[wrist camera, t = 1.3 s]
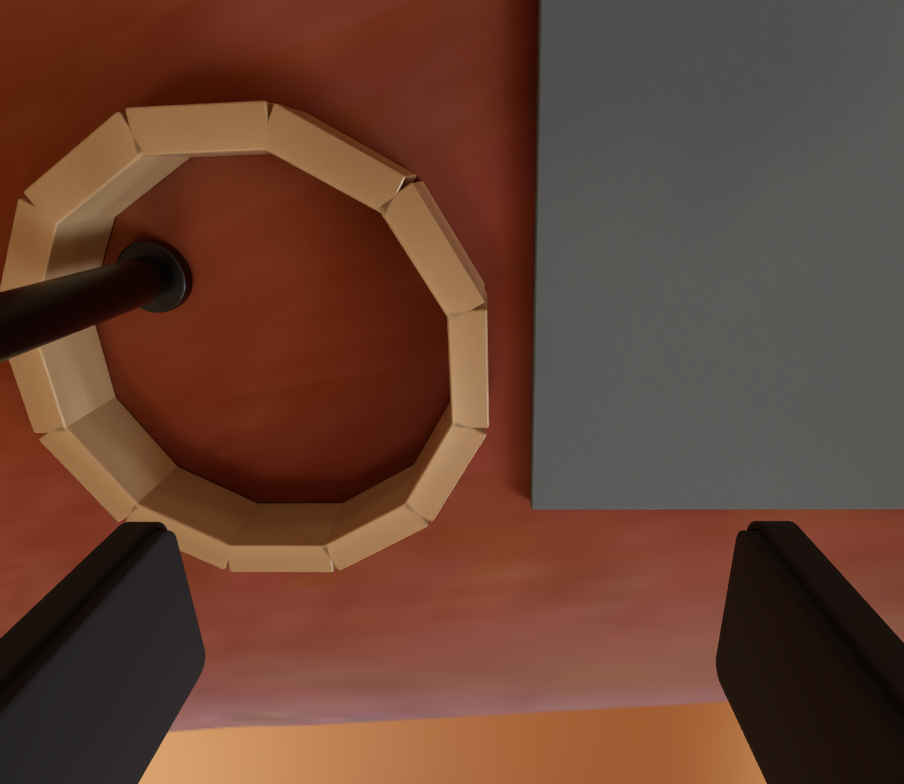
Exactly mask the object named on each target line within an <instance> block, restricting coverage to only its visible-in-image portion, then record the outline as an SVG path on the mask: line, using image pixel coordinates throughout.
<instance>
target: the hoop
mask: <svg viewBox="0 0 904 784" xmlns="http://www.w3.org/2000/svg"><path fill="white" fill-rule="evenodd" d="M125 111H126V113H124V112H116V113H115V114H113V115H112V116H111V117H110V118H109V119H107V120H106V121H105V122H104V123H103V124H102V125H100V126H99V127H98V128H97V129H96V130H95V131H93V132H92V133H91V134H90V135H89V136H88V137H86V138H85V139H84V140H83V141H82V142H81V143H79V144H78V145H77V146H76V147H75V148H74V149H72V150H71V151H70V152H69V153H68V154H67V155H65V156H64V157H63V158H62V159H61V160H60V161H58V162H57V163H56V164H55V165H54V166H53V167H51V168H50V169H49V170H48V171H47V172H46V173H44V174H43V175H42V176H41V177H40V178H39V179H37V180H36V181H35V182H34V183H33V184H32V185H30V186H29V187H28V188H27V189H26V190H25V191H24V194H25V195H26V196H27V198H19V199H18V203H17V208H16V212H15V217H14V222H13V227H12V232H11V237H10V242H9V247H8V251H7V256H6V261H5V266H4V271H3V276H2V281H1V285H0V292H2V291H6V290H10V289H14V288H18V287H22V286H26V285H30V284H34V283H38V282H42V281H46V280H50V279H54V278H58V277H62V276H66V275H70V274H74V273H78V272H82V271H86V270H89V269H93V268H97V267H101V266H102V263H103V259H104V255H105V252H106V248H107V244H108V241H109V237H110V233H111V230H112V226H113V222H114V219H115V217H116V216H117V215H118V214H119V213H121V212H122V211H123V210H124V209H126V208H127V207H128V206H129V205H131V204H132V203H133V202H134V201H136V200H137V199H138V198H140V197H141V196H142V195H143V194H145V193H146V192H147V191H148V190H150V189H151V188H152V187H153V186H155V185H156V184H157V183H158V182H160V181H161V180H162V179H164V178H165V177H166V176H167V175H169V174H170V173H171V172H172V171H174V170H175V169H176V168H177V167H179V166H180V165H181V164H183V163H184V162H185V161H186V160H188V159H189V158H192V157H215V156H237V155H260V154H274V155H275V156H277V157H279V158H281V159H283V160H285V161H286V162H288V163H290V164H292V165H294V166H296V167H297V168H299V169H301V170H303V171H305V172H306V173H308V174H310V175H312V176H314V177H316V178H317V179H319V180H321V181H323V182H325V183H327V184H328V185H330V186H332V187H334V188H336V189H338V190H339V191H341V192H343V193H345V194H347V195H349V196H350V197H352V198H354V199H356V200H358V201H359V202H361V203H363V204H365V205H367V206H369V207H370V208H372V209H374V210H376V211H378V212H380V213H381V215H382V216H383V218H384V219H385V221H386V222H387V224H388V225H389V227H390V229H391V230H392V232H393V233H394V235H395V236H396V238H397V240H398V241H399V243H400V244H401V246H402V247H403V249H404V250H405V252H406V254H407V255H408V257H409V258H410V260H411V261H412V263H413V265H414V266H415V268H416V269H417V271H418V272H419V274H420V275H421V277H422V279H423V280H424V282H425V283H426V285H427V286H428V288H429V290H430V291H431V293H432V294H433V296H434V297H435V299H436V300H437V302H438V304H439V305H440V307H441V308H442V310H443V311H444V313H445V315H446V316H447V330H448V354H449V377H450V403H449V404H448V406H447V408H446V409H445V411H444V413H443V415H442V416H441V418H440V420H439V422H438V423H437V425H436V427H435V429H434V430H433V432H432V434H431V436H430V437H429V439H428V441H427V442H426V444H425V446H424V448H423V449H422V451H421V453H420V455H419V456H418V458H417V460H416V462H415V463H414V465H412V466H411V467H409V468H407V469H405V470H403V471H401V472H399V473H398V474H396V475H394V476H392V477H390V478H388V479H386V480H385V481H383V482H381V483H379V484H377V485H375V486H373V487H372V488H370V489H368V490H366V491H364V492H362V493H360V494H359V495H357V496H355V497H353V498H351V499H349V500H347V501H346V502H344V503H256V502H253V501H251V500H249V499H247V498H245V497H242V496H240V495H238V494H236V493H234V492H232V491H229V490H227V489H225V488H223V487H221V486H219V485H216V484H214V483H212V482H210V481H208V480H205V479H203V478H201V477H199V476H197V475H195V474H192V473H190V472H188V471H186V470H184V469H182V468H179V467H177V466H176V464H175V463H174V462H173V461H172V460H171V459H170V458H169V457H168V455H167V454H166V453H165V452H164V451H163V450H162V449H161V448H160V446H159V445H158V444H157V443H156V442H155V441H154V440H153V439H152V437H151V436H150V435H149V434H148V433H147V432H146V431H145V430H144V428H143V427H142V426H141V425H140V424H139V423H138V422H137V421H136V419H135V418H134V417H133V416H132V415H131V414H130V413H129V411H128V410H127V409H126V408H125V407H124V406H123V405H122V404H121V402H120V401H119V400H118V399H117V398H116V397H115V393H114V390H113V386H112V383H111V379H110V375H109V372H108V368H107V365H106V361H105V358H104V354H103V351H102V347H101V344H100V340H99V336H98V333H97V329H96V326H95V325H94V326H91V327H89V328H86V329H84V330H81V331H79V332H76V333H74V334H71V335H69V336H66V337H64V338H61V339H59V340H56V341H54V342H51V343H49V344H46V345H44V346H41V347H39V348H36V349H34V350H31V351H29V352H26V353H23V354H21V355H18V356H16V357H13V358H11V359H9V362H10V365H11V368H12V371H13V373H14V376H15V379H16V382H17V385H18V388H19V391H20V394H21V396H22V399H23V402H24V405H25V408H26V411H27V414H28V417H29V419H30V422H31V425H32V428H33V431H34V432H35V433H46V434H44V435H43V436H41V437H40V438H39V441H40V442H41V443H42V444H43V445H44V446H45V447H46V448H47V449H48V450H49V451H50V452H51V453H52V454H53V455H54V456H55V457H56V458H57V459H58V460H59V461H60V462H61V463H62V464H63V465H64V467H65V468H66V469H67V470H68V471H69V472H70V473H71V474H72V475H73V476H74V477H75V478H76V479H77V480H78V481H79V482H80V483H81V484H82V485H83V486H84V487H85V488H86V489H87V490H88V491H89V492H90V494H91V495H92V496H93V497H94V498H95V499H96V500H97V501H98V502H99V503H100V504H101V505H102V506H103V507H104V508H105V509H106V510H107V511H108V512H109V513H110V514H111V515H112V516H113V517H114V518H115V519H116V521H121V520H123V519H124V518H126V517H127V519H126V522H161V523H163V524H164V525H165V526H166V527H167V530H170V531H173V533H174V534H175V535H176V538H177V542H178V546H179V550H180V551H182V552H185V553H187V554H189V555H191V556H194V557H196V558H198V559H200V560H203V561H205V562H207V563H210V564H212V565H214V566H216V567H219V568H221V569H225V568H226V566H227V565H228V563H229V567H230V571H232V572H333V571H334V568H335V566H336V567H337V569H338V570H342V569H344V568H346V567H348V566H350V565H352V564H354V563H356V562H358V561H360V560H362V559H364V558H366V557H368V556H370V555H372V554H374V553H376V552H378V551H380V550H382V549H384V548H386V547H388V546H390V545H392V544H394V543H395V542H397V541H399V540H401V539H403V538H405V537H407V536H409V535H411V534H413V533H415V532H417V531H419V530H421V529H423V528H425V527H427V526H428V520H429V521H433V520H434V519H435V517H436V516H437V514H438V512H439V511H440V509H441V508H442V506H443V504H444V503H445V501H446V499H447V498H448V496H449V495H450V493H451V491H452V490H453V488H454V487H455V485H456V483H457V482H458V480H459V479H460V477H461V475H462V474H463V472H464V470H465V469H466V467H467V466H468V464H469V462H470V461H471V459H472V458H473V456H474V454H475V453H476V451H477V450H478V448H479V446H480V445H481V443H482V442H483V440H484V438H485V437H486V428H488V427H489V389H488V323H487V292H486V291H484V288H485V284H484V282H483V280H482V278H481V277H480V275H479V273H478V272H477V270H476V268H475V267H474V265H473V263H472V262H471V260H470V258H469V257H468V255H467V253H466V252H465V250H464V248H463V247H462V245H461V243H460V242H459V240H458V239H457V237H456V235H455V234H454V232H453V230H452V229H451V227H450V225H449V224H448V222H447V220H446V219H445V217H444V215H443V214H442V212H441V210H440V209H439V207H438V205H437V204H436V202H435V200H434V199H433V197H432V195H431V194H430V192H429V191H428V189H427V187H426V186H425V184H424V182H423V181H419V182H414V181H415V178H416V174H414V173H412V172H411V171H409V170H407V169H405V168H404V167H402V166H400V165H398V164H396V163H395V162H393V161H391V160H389V159H388V158H386V157H384V156H382V155H380V154H379V153H377V152H375V151H373V150H372V149H370V148H368V147H366V146H364V145H363V144H361V143H359V142H357V141H356V140H354V139H352V138H350V137H348V136H347V135H345V134H343V133H341V132H339V131H338V130H336V129H334V128H332V127H331V126H329V125H327V124H325V123H323V122H322V121H320V120H318V119H316V118H315V117H313V116H311V115H309V114H307V113H305V112H302V111H299V110H296V109H292V108H289V107H286V106H283V105H280V104H277V103H275V104H274V103H270V102H267V101H264V100H263V101H243V102H223V103H203V104H184V105H164V106H144V107H127V108H126V109H125Z"/></svg>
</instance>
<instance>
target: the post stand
mask: <svg viewBox="0 0 904 784" xmlns="http://www.w3.org/2000/svg"><path fill="white" fill-rule="evenodd" d="M191 289H192V274H191V270H190V268H189V265H188V263H187V262H186V260H185V259H184V257H183V256H182V255H181V254H180V253H179V252H178V251H177V250H176V249H175V248H173V247H172V246H170V245H168V244H166V243H164V242H161V241H157V240H145V241H140V242H136V243H133V244H130V245H129V246H127V247H126V248H125V249H124V250H123V251H122V252H121V254H120V255H119V257H118V260H117V263H113V264H109V265H105V266H101V267H97V268H93V269H89V270H86V271H82V272H78V273H74V274H70V275H66V276H62V277H58V278H54V279H50V280H46V281H42V282H38V283H34V284H30V285H26V286H22V287H18V288H14V289H10V290H6V291H2V292H0V363H1V362H3V361H6V360H8V359H11V358H13V357H16V356H18V355H21V354H23V353H26V352H29V351H31V350H34V349H36V348H39V347H41V346H44V345H46V344H49V343H51V342H54V341H56V340H59V339H61V338H64V337H66V336H69V335H71V334H74V333H76V332H79V331H81V330H84V329H86V328H89V327H91V326H94V325H96V324H99V323H101V322H104V321H106V320H109V319H111V318H114V317H116V316H119V315H121V314H124V313H126V312H129V311H131V310H134V309H136V308H139V307H140V308H142V309H144V310H147V311H150V312H159V313H160V312H166V311H169V310H172V309H174V308H176V307H178V306H180V305H182V304H183V303H184V302H185V301H186V300H187V298H188V297H189V295H190V292H191Z"/></svg>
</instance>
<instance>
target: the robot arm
mask: <svg viewBox="0 0 904 784" xmlns="http://www.w3.org/2000/svg"><path fill="white" fill-rule="evenodd" d="M204 662H205V649H204V645H203V641H202V637H201V633H200V629H199V625H198V621H197V617H196V613H195V609H194V605H193V601H192V597H191V593H190V589H189V585H188V581H187V577H186V573H185V569H184V566H183V562H182V558H181V554H180V550H179V546H178V542H177V538H176V535H175V534H174V533H173V531H170V530H167V527H166V526H165V525H164V524H163V523H161V522H125V523H123V524H121V525H120V526H119V527H118V528H117V529H115V530H114V531H113V532H112V533H111V534H110V535H109V536H108V537H107V538H106V539H105V540H104V541H103V542H102V543H101V544H100V545H99V546H98V547H96V548H95V549H94V550H93V551H92V552H91V553H90V554H89V555H88V556H87V557H86V558H85V559H84V560H83V561H82V562H81V563H80V564H79V565H77V566H76V567H75V568H74V569H73V570H72V571H71V572H70V573H69V574H68V575H67V576H66V577H65V578H64V579H63V580H62V581H61V582H60V583H58V584H57V585H56V586H55V587H54V588H53V589H52V590H51V591H50V592H49V593H48V594H47V595H46V596H45V597H44V598H43V599H42V600H41V601H39V602H38V603H37V604H36V605H35V606H34V607H33V608H32V609H31V610H30V611H29V612H28V613H27V614H26V615H25V616H24V617H23V618H22V619H21V620H19V621H18V622H17V623H16V624H15V625H14V626H13V627H12V628H11V629H10V630H9V631H8V632H7V633H6V634H5V635H4V636H3V637H2V638H0V784H138V783H139V781H140V779H141V777H142V776H143V774H144V772H145V770H146V769H147V767H148V765H149V764H150V762H151V760H152V758H153V757H154V755H155V753H156V751H157V750H158V748H159V746H160V744H161V742H162V741H163V739H164V737H165V735H166V734H167V732H168V730H169V729H170V727H171V725H172V723H173V722H174V720H175V718H176V717H177V715H178V713H179V711H180V710H181V708H182V706H183V704H184V703H185V701H186V699H187V697H188V696H189V694H190V692H191V690H192V689H193V687H194V685H195V683H196V682H197V680H198V678H199V676H200V674H201V672H202V670H203V667H204ZM716 669H717V675H718V678H719V681H720V684H721V686H722V688H723V690H724V693H725V695H726V697H727V699H728V701H729V703H730V705H731V708H732V709H733V712H734V714H735V716H736V718H737V720H738V723H739V725H740V727H741V729H742V731H743V733H744V735H745V738H746V740H747V742H748V743H749V746H750V748H751V750H752V752H753V755H754V757H755V759H756V761H757V763H758V765H759V767H760V770H761V771H762V774H763V776H764V778H765V780H766V782H767V784H904V643H903V642H902V641H901V640H900V638H899V637H898V636H897V635H896V634H895V633H894V632H893V631H892V630H891V628H890V627H889V626H888V625H887V624H886V623H885V622H884V621H883V620H882V619H881V617H880V616H879V615H878V614H877V613H876V612H875V611H874V610H873V609H872V607H871V606H870V605H869V604H868V603H867V602H866V601H865V600H864V599H863V598H862V596H861V595H860V594H859V593H858V592H857V591H856V590H855V589H854V588H853V586H852V585H851V584H850V583H849V582H848V581H847V580H846V579H845V578H844V577H843V575H842V574H841V573H840V572H839V571H838V570H837V569H836V568H835V567H834V565H833V564H832V563H831V562H830V561H829V560H828V559H827V558H826V557H825V555H824V554H823V553H822V552H821V551H820V550H819V549H818V548H817V547H816V546H815V544H814V543H813V542H812V541H811V540H810V539H809V538H808V537H807V536H806V534H805V533H804V532H803V531H802V530H801V529H800V528H799V527H798V526H797V525H796V524H795V523H793V522H790V521H754V522H752V523H750V525H749V526H748V529H747V531H740V532H739V533H738V535H737V538H736V543H735V549H734V555H733V561H732V567H731V572H730V578H729V584H728V590H727V596H726V602H725V608H724V614H723V620H722V626H721V631H720V637H719V643H718V649H717V655H716Z"/></svg>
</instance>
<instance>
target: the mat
mask: <svg viewBox="0 0 904 784" xmlns="http://www.w3.org/2000/svg"><path fill="white" fill-rule="evenodd" d="M530 502H531V508H532V509H904V0H538V52H537V116H536V179H535V242H534V306H533V369H532V433H531V496H530Z"/></svg>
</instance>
